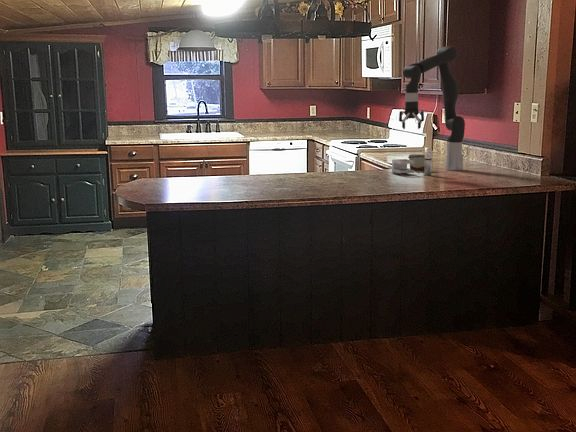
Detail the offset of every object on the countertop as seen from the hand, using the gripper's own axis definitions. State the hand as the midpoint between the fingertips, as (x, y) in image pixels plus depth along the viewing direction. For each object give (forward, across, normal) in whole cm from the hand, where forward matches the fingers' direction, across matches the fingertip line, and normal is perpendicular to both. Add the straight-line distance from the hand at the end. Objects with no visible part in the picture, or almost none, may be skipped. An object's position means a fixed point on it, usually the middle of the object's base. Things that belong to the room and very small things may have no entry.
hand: (411, 128), depth 380 cm
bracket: (+27, +5, +2) cm, 27 cm away
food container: (+27, -1, -18) cm, 33 cm away
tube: (+27, -10, +2) cm, 29 cm away
